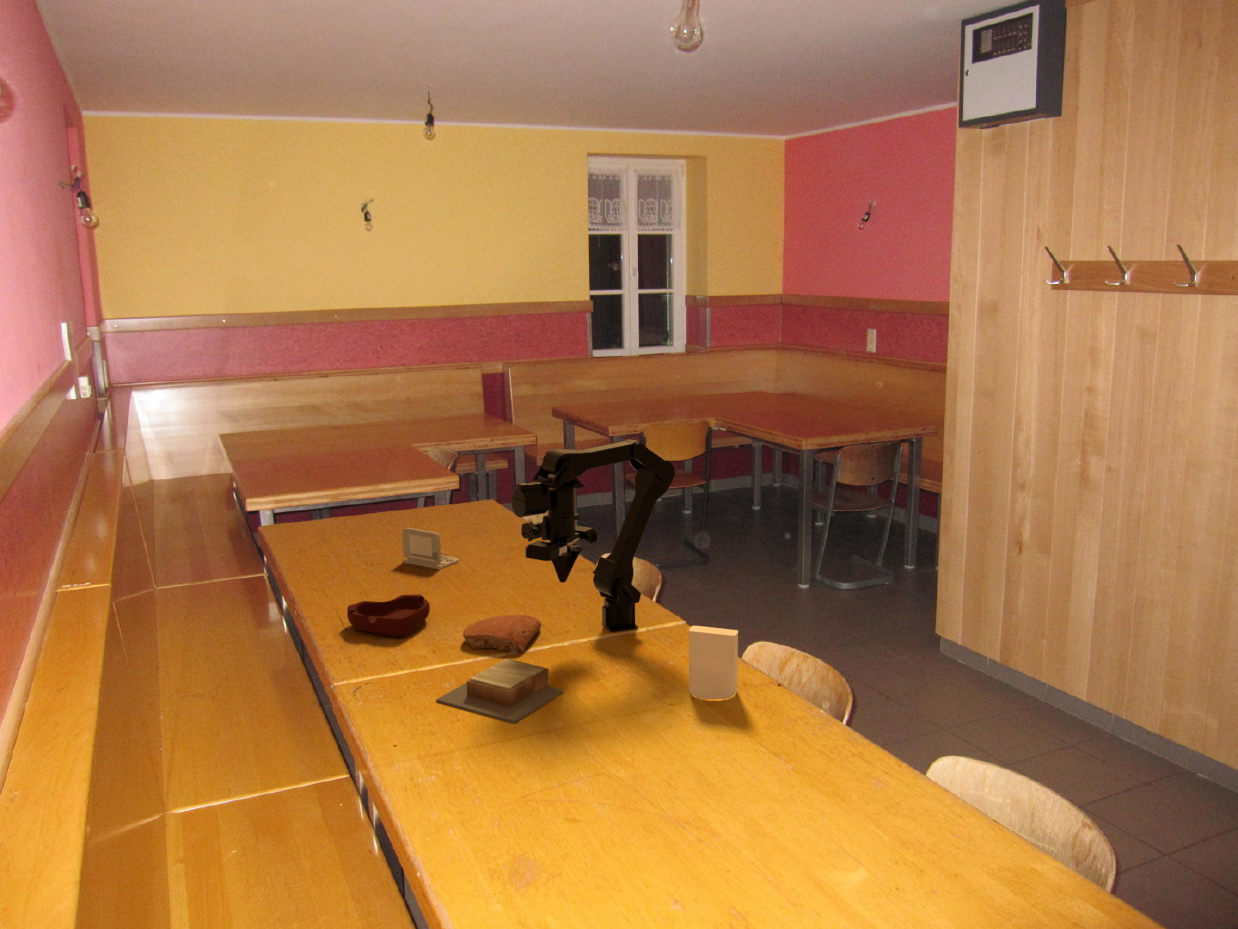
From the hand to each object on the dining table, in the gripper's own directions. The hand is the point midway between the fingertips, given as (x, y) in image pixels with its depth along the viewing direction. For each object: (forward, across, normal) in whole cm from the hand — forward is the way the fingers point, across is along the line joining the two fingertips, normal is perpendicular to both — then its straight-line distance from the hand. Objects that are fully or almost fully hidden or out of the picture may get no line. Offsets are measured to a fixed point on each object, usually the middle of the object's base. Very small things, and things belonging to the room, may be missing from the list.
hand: (562, 582), depth 205 cm
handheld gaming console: (+13, -31, -65) cm, 73 cm away
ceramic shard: (+14, +6, -12) cm, 19 cm away
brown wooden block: (+11, +21, +6) cm, 25 cm away
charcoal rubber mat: (+13, +30, +6) cm, 33 cm away
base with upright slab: (+13, +8, +39) cm, 42 cm away
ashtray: (+14, +12, -38) cm, 42 cm away
